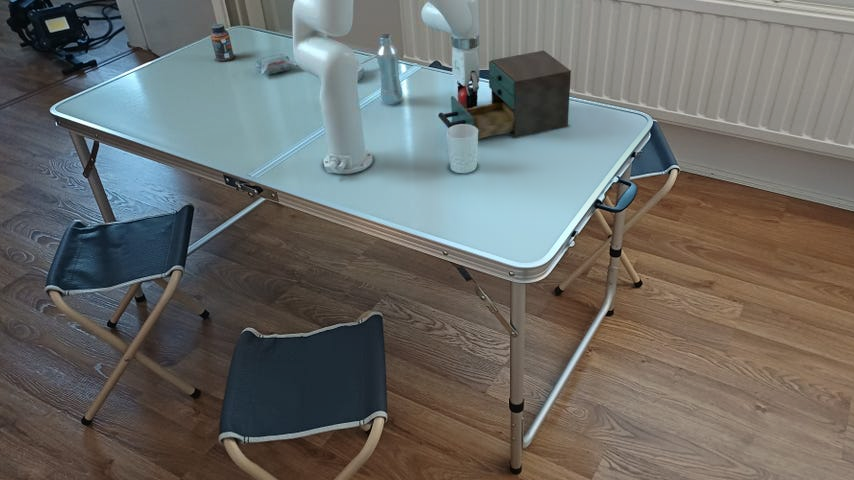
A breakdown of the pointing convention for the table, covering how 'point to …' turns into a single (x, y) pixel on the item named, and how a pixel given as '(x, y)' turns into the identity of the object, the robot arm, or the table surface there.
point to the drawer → (481, 118)
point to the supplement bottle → (221, 43)
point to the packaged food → (274, 64)
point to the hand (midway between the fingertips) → (467, 101)
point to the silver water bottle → (389, 70)
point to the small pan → (360, 66)
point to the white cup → (462, 147)
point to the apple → (463, 97)
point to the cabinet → (532, 91)
